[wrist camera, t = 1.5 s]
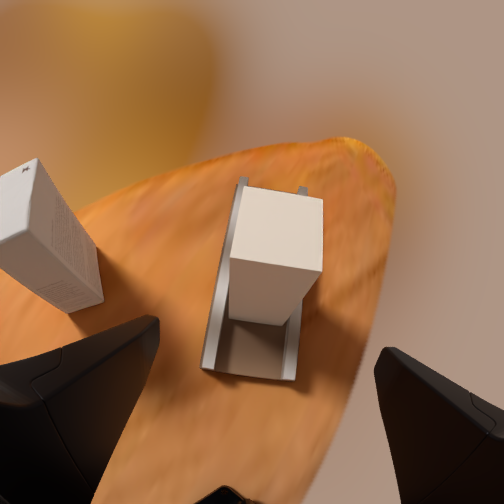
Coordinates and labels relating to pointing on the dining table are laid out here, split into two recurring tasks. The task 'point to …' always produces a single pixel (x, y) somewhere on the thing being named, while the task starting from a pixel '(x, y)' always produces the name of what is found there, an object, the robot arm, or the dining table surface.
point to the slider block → (274, 254)
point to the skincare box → (46, 241)
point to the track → (248, 325)
